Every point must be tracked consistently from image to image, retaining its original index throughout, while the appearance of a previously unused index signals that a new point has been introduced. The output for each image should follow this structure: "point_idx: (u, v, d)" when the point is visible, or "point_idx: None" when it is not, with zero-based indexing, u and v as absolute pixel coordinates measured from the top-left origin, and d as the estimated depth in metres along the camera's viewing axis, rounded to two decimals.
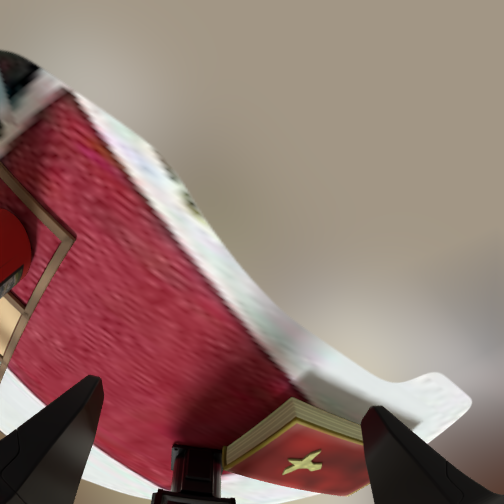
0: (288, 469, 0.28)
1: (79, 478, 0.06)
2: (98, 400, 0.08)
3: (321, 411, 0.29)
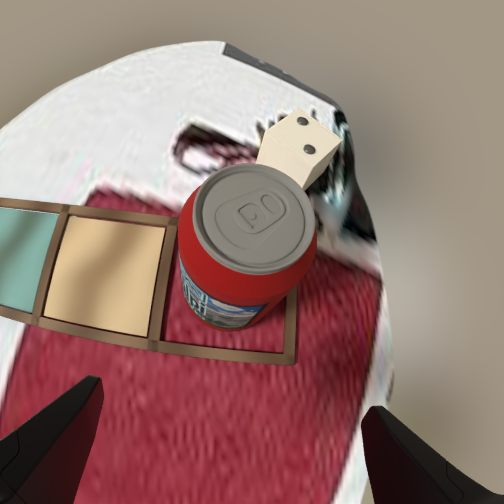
0: None
1: (79, 478, 0.06)
2: (98, 400, 0.08)
3: None
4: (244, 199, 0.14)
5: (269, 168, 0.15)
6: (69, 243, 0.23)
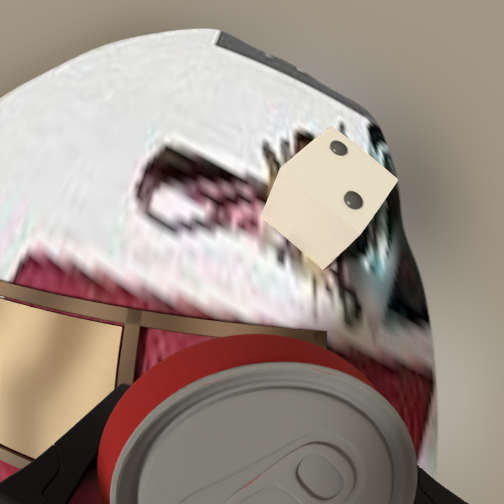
0: None
1: None
2: None
3: None
4: (248, 477, 0.04)
5: (321, 372, 0.05)
6: None
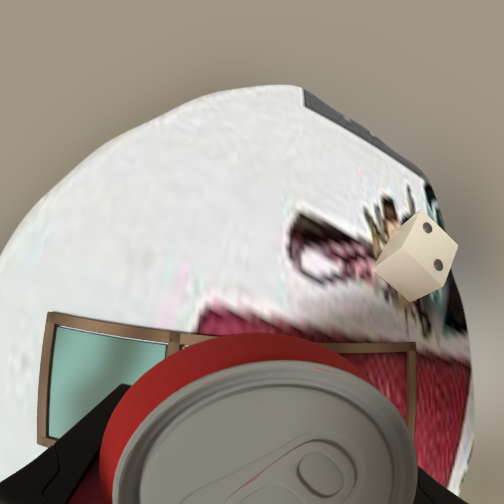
0: None
1: None
2: None
3: None
4: (250, 475, 0.04)
5: (321, 370, 0.05)
6: None
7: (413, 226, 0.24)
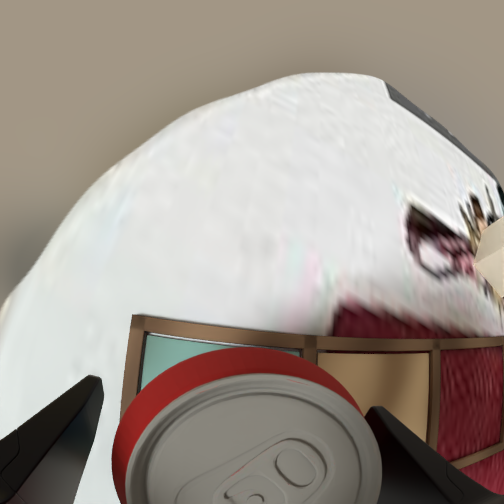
0: None
1: (79, 478, 0.06)
2: (98, 400, 0.08)
3: None
4: (236, 467, 0.05)
5: (294, 382, 0.06)
6: None
7: None
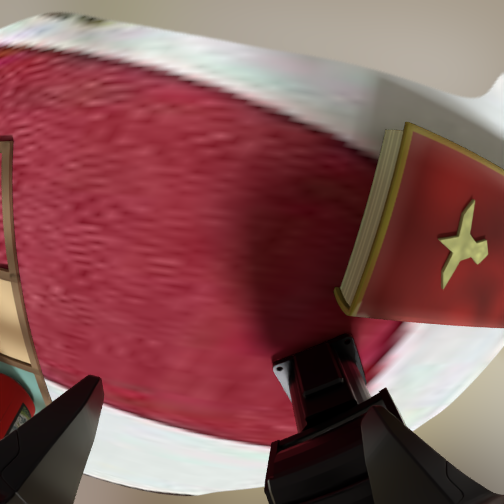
0: (447, 268, 0.17)
1: (79, 478, 0.06)
2: (98, 400, 0.08)
3: None
4: None
5: None
6: None
7: None
